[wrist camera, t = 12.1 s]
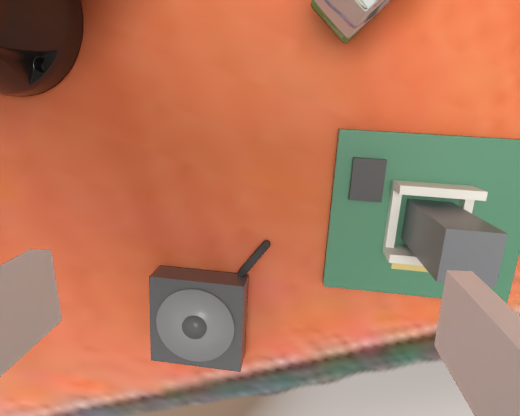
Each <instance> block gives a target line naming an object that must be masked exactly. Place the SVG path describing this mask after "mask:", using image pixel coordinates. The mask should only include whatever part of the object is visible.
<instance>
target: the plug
mask: <svg viewBox="0 0 520 416" xmlns="http://www.w3.org/2000/svg"><path fill="white" fill-rule="evenodd" d="M507 236H508V234H507V233H506V232H504V231H502V230H500V229H498V228H497V227H495V226H493V225H491V224H490V223H488V222H486V221H484V220H482V219H481V218H479V217H477V216H475V215H474V214H472V213H470V212H468V211H466V210H465V209H463V208H461V207H459V206H458V205H456V204H454V203H452V202H447V201H434V200H421V199H408V198H407V203H406V210H405V216H404V223H403V229H402V235H401V239H402V240H403V241H404V242H405V244H406V245H407V246H408V247H409V249H410V250H411V251H412V252H413V254H414V255H415V256H416V257H417V259H418V260H419V261H420V262H421V263H422V265H423V266H424V267H425V268H426V270H427V271H428V272H429V273H430V275H431V276H432V277H433V278H434V280H435V281H436V282H442V283H445V277H446V271H447V270H457V271H473V272H474V273H475V274H476V275H477V276H478V277H479V278H480V279H481V280H482V281H483V282H484V283H485V284H486V285H487V286H489V287H492V288H496V284H497V279H498V275H499V270H500V266H501V262H502V257H503V253H504V249H505V244H506V240H507Z"/></svg>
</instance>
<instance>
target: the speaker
mask: <svg viewBox="0 0 520 416" xmlns="http://www.w3.org/2000/svg"><path fill="white" fill-rule="evenodd" d="M248 279H249V274H246V275H245V276H244V277H239V276H238V273H229V272H219V271H209V270H199V269H190V268H180V267H170V266H159V267H158V268H157V269H156V270H155V271H154V272H153V273H152V274H151V275H150V276H149V288H150V337H151V360H153V361H161V362H169V363H176V364H184V365H192V366H199V367H207V368H215V369H222V370H230V371H238V372H240V371H241V367H242V363H243V359H244V355H245V337H246V318H247V298H248Z"/></svg>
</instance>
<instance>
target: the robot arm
mask: <svg viewBox="0 0 520 416" xmlns="http://www.w3.org/2000/svg"><path fill="white" fill-rule="evenodd" d="M82 29H83V18H82V9H81V4H80V0H0V94H3V95H14V96H29V95H35V94H39V93H41V92H44V91H46V90H48V89H50V88H52V87H53V86H55V85H56V84H57V83H58V82H60V81H61V80H62V79H63V78H64V76H65V75H66V74H67V73H68V71H69V70H70V69H71V67H72V65H73V63H74V61H75V59H76V57H77V54H78V51H79V48H80V44H81V39H82ZM61 321H62V316H61V310H60V303H59V297H58V290H57V284H56V277H55V271H54V264H53V258H52V251H51V250H38V249H30V250H28V251H26V252H24V253H22V254H21V255H19V256H17V257H15V258H13V259H11V260H9V261H7V262H6V263H4V264H2V265H0V377H1V376H2V375H3V374H4V373H5V372H6V371H7V370H8V369H9V368H10V367H12V366H13V365H14V364H15V363H16V362H17V361H18V360H19V359H20V358H21V357H23V356H24V355H25V354H26V353H27V352H28V351H29V350H30V349H31V348H32V347H33V346H35V345H36V344H37V343H38V342H39V341H40V340H41V339H42V338H43V337H44V336H46V335H47V334H48V333H49V332H50V331H51V330H52V329H53V328H54V327H55V326H56V325H58V324H59V323H60V322H61ZM434 346H435V348H436V349H437V351H438V353H439V355H440V356H441V358H442V360H443V362H444V363H445V365H446V367H447V368H448V370H449V372H450V374H451V375H452V377H453V379H454V381H455V382H456V384H457V386H458V387H459V389H460V391H461V393H462V395H463V396H464V398H465V400H466V401H467V403H468V405H469V407H470V408H471V410H472V412H473V414H474V415H475V416H520V315H518V314H517V313H516V312H515V311H514V310H513V309H512V308H511V307H510V306H509V305H508V304H507V303H506V302H505V301H503V300H502V299H501V298H500V297H499V296H498V295H497V294H496V293H495V292H494V291H493V290H492V289H491V288H490V287H489V286H487V285H486V284H485V283H484V282H483V281H482V280H481V279H480V278H479V277H478V276H477V275H476V274H475V273H474V272H473V271H457V270H447V271H446V277H445V283H444V290H443V296H442V302H441V308H440V314H439V320H438V326H437V333H436V339H435V345H434Z"/></svg>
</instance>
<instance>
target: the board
mask: <svg viewBox="0 0 520 416" xmlns="http://www.w3.org/2000/svg"><path fill="white" fill-rule="evenodd" d="M407 198H408V199H421V200H434V201H447V202H452V203H454V204H456V205H458V206H459V207H461V208H463V209H465V210H466V211H468V212H470V213H472V214H474V215H475V216H477V217H479V218H481V219H482V220H484V221H486V222H488V223H490V224H491V225H493V226H495V227H497V228H498V229H500V230H502V231H504V232H506V233H507V234H508V236H507V240H506V244H505V249H504V253H503V257H502V262H501V266H500V270H499V275H498V279H497V284H496V288H492V287H490V288H491V289H492V290H493V291H494V292H495V293H496V294H497V295H498V296H499V297H500V298H501V299H502V300H503V301H505V302H506V303H507V302H508V298H509V294H510V289H511V285H512V281H513V277H514V273H515V269H516V265H517V260H518V256H519V252H520V140H519V139H502V138H485V137H468V136H451V135H434V134H417V133H399V132H382V131H365V130H348V129H339V132H338V142H337V151H336V161H335V170H334V180H333V189H332V199H331V208H330V218H329V227H328V237H327V247H326V256H325V266H324V275H323V286H326V287H336V288H346V289H356V290H365V291H375V292H385V293H395V294H404V295H414V296H424V297H433V298H442V296H443V290H444V283H442V282H436V281H435V280H434V278H433V277H432V276H431V275H430V273H429V272H428V271H427V270H426V268H425V267H424V266H423V265H422V263H421V262H420V261H419V260H418V259H417V257H416V256H415V255H414V254H413V252H412V251H411V250H410V249H409V247H408V246H407V245H406V244H405V242H404V241H403V240H402V239H401V235H402V229H403V223H404V216H405V210H406V203H407Z"/></svg>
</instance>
